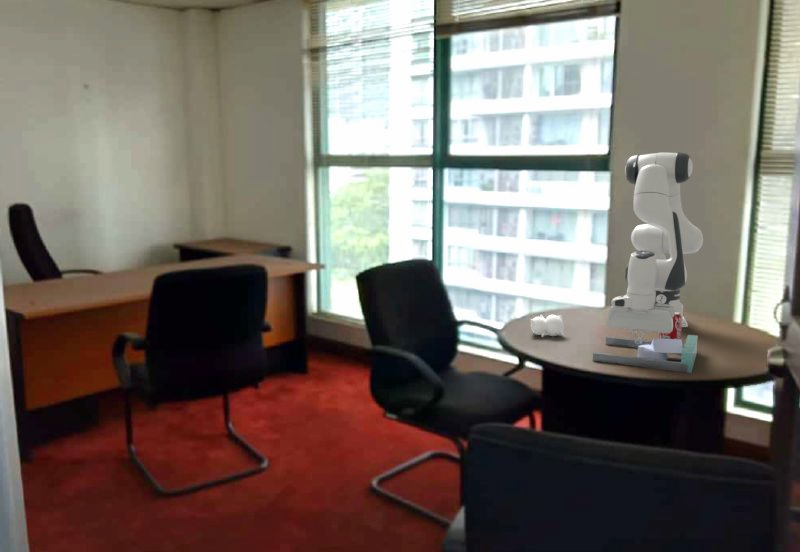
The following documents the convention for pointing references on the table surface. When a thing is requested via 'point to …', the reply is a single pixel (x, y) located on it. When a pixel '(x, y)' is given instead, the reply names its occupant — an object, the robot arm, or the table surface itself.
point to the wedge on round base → (660, 348)
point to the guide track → (683, 366)
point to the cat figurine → (547, 325)
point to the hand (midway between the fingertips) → (638, 343)
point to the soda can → (674, 328)
